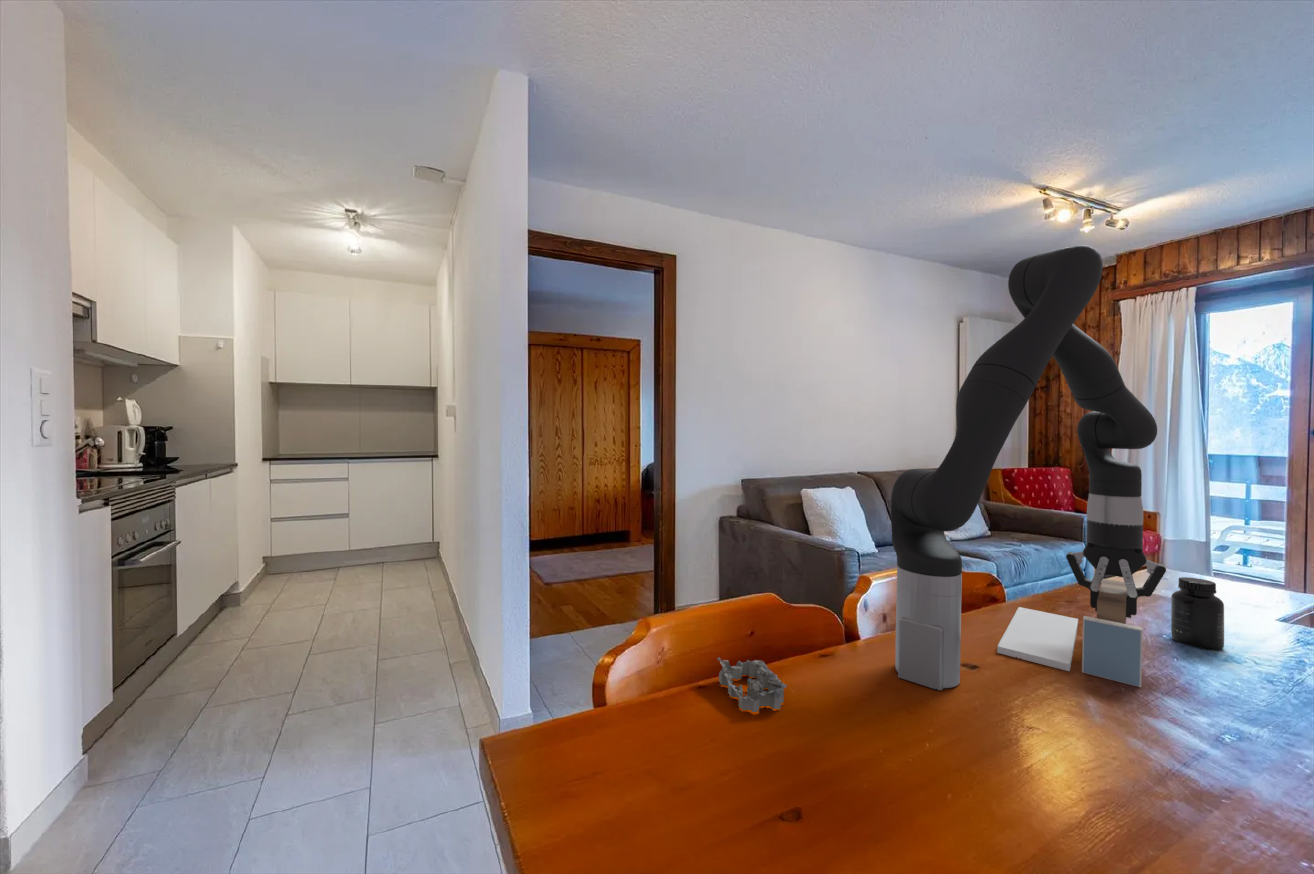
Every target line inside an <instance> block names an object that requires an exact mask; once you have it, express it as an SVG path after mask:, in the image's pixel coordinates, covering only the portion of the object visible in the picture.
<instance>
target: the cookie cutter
mask: <svg viewBox="0 0 1314 874" xmlns="http://www.w3.org/2000/svg"><path fill="white" fill-rule="evenodd" d="M716 660H717V661H719V663H720V665H721V667H722V669H721V670H720V671H719V673H718V682H720V684H721V685H725V686H728V689H727V695H728V694H729V695H730V696H732V697H737V698H739V700H738V706H739V707H740V708H741V709H742V710H751V711H752V712H757V711H759V712H760V710H759V707H761V706H770V707H772V708H773V709H780V708H781V709H782V707H781V703H783V702H785V699H784V696H785V695H784V694H785V690H784V689H786V688H787V687H788V685H787V684H785V683H783V682H782V681H781V679H780V678H778V674H776V673H774V672H773V671H772V669H770V668H769V667H768V666H767V664H766V663H765V661H763V660H760V659H759V660H758V659H754V660H748V659H747V660H746V661H745V662H742V661H740V660H738V661H737V662H736V665H733V666H731V664H730V660H728V659H727V660H726V659H723V660H722V658H721V657H720V656H719V657H717V658H716ZM742 675H748V676H750V677H753V678H754V677H755V678H757V679H752V678H749V677H747V679H746V683H747V684H746V685H748V688H747V695H746V694H744V692H743V689H742V685H741V684H739V685H740V686H739V685H736V684H735V685H734V684H733V681H732V679H736V680H737V679H741V678H742V679H743V677H742ZM720 684H719V685H720ZM737 686H739V687H737ZM764 688H768V690H765V689H764Z"/></svg>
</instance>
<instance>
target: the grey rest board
mask: <svg viewBox="0 0 1314 874" xmlns="http://www.w3.org/2000/svg"><path fill="white" fill-rule="evenodd" d="M1078 627H1079V618H1076V617H1071V616H1066V615H1061V614H1056V613H1051V612H1045V611H1041V610H1036V609H1032V608H1031V609H1030V608H1026V607H1020V606H1018V608H1017V609H1016V611H1015V614H1014V615H1013V617H1012V618H1011V620H1010V622H1009V624H1008V626H1007V628H1006V629H1005V631H1004V633H1003V635H1002V637H1001V638H1000V640H999V642H998V644H997V647H996V648H997V650H996V651H997V652H996V653H997V654H999V655H1000V654H1002V655H1005V656H1009V657H1012V658H1016V657H1017V658H1016V659H1020V658H1021V659H1020V660H1024V661H1028V662H1032V663H1036V664H1039V665H1044V666H1047V667H1050V668H1051V667H1052V668H1055V669H1059V670H1061V671H1062V670H1063V671H1067V672H1070V671H1071V669H1072V663H1073V662H1072V661H1073V654H1074V651H1075V645H1076V638H1077V633H1078Z"/></svg>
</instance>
